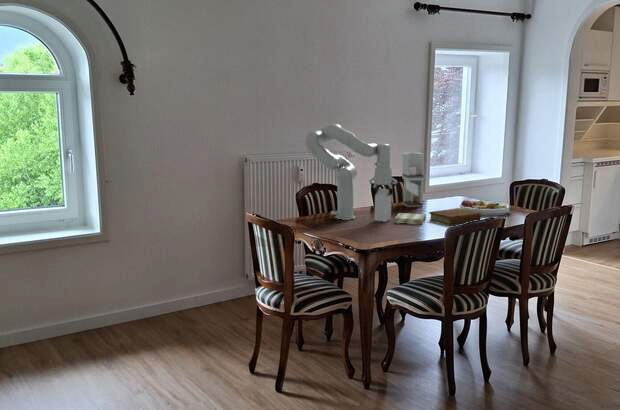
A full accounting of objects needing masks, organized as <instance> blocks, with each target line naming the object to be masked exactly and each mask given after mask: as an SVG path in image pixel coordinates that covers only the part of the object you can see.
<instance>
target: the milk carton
mask: <svg viewBox="0 0 620 410" xmlns="http://www.w3.org/2000/svg"><path fill="white" fill-rule="evenodd" d="M389 194H390V188H389V189H388V188H377V193H376V195H375V194H374V221H375V222H381V221H382V222H383V223H386V222H389V221H392V194H391V195H389Z"/></svg>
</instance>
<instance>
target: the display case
mask: <svg viewBox="0 0 620 410" xmlns="http://www.w3.org/2000/svg"><path fill="white" fill-rule="evenodd" d="M424 161H425V154H424V153H421V152H403V153H402V173H401V174H402V175H401V176H402V179H403V201H401V205H402V206H405V207H406V208H419V207H421V208H422V207H424V173H425V172H424V169H425V168H424V165H425V162H424Z"/></svg>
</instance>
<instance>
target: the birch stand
mask: <svg viewBox="0 0 620 410" xmlns="http://www.w3.org/2000/svg"><path fill="white" fill-rule="evenodd" d="M426 216H427V214H424V213H403V212H401V213H400V212H399V213H398V214H397V215H395V217H394V224H399V223H407V224H406V225H419V224H422V225H424V223H425V221H426V218H427V217H426ZM423 222H424V223H423Z"/></svg>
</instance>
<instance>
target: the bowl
mask: <svg viewBox="0 0 620 410" xmlns="http://www.w3.org/2000/svg"><path fill="white" fill-rule="evenodd" d="M459 208H460V209H464V210H469V211H474V212H479V213H480V214H481V217H499V216H498V215H500V216H503V215H506V214H507V213H508V212H509V211H510V205H509V204H507V203H504V202H498V201H489V200H487V201H485V200H482V199H480V200H471V201H470V200H467V199H466V200H465V199H464V200H463V201H461V202H460V204H459Z"/></svg>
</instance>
